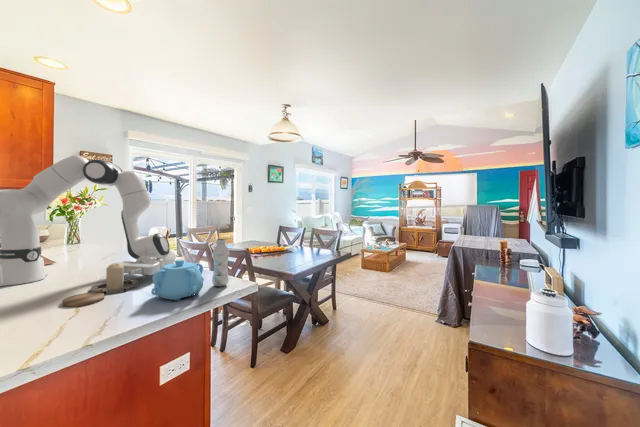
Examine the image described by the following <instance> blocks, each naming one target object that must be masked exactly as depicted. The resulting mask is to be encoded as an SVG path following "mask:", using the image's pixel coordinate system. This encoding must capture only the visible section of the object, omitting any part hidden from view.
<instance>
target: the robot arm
mask: <svg viewBox="0 0 640 427" xmlns="http://www.w3.org/2000/svg"><path fill="white" fill-rule="evenodd" d="M84 180H88V181H89V182H90V183H93V184H97V185H101V186H110V187H112V186H115V188H116V189H117V191H118V192H119V195H120V198H121V201H122V210H121V214H120V215H121V221H122V226H123V230H124V233H125V239H126V247H127V248H126V249H127V253H128V255H129V256H130V257H132V258H133V259H135V261H129V260H128V261H127V260H125V261H119V262H113V263H114V264H120V265H122V266H124V274H127V275H129V276H133V275H142V276H153V274H154V273H155V272H156V271H158V270H161V268H162V267H163V266H165V265H167V264H174V263H175V261H176V260H177V259H176V258H177V257H176V254H175V253H174V251H172V250H171V248H170V243H169V240H168V238H167V237H166V236H165V235H164V234H162V233H158V232H157V233H153V234H149V235H148V236H144V237H141V233H140V228H139V225H138V219H139V218H140V216H141V215H142V214H143V213H144V212H145V211H146V210H148V208H149V207H150V205H151V196H150V193H149V191H148V188H147V186H146V184H145V182H144V181H143V179H142V177H141V175H140V174H139V173H137V171H134V170H126V171H123V170H122V168H120V166H118V165H117V164H115V163H112V162H111V161H106V160H104V159H92V160H88V158H86V157H84V156H82V155H78V154H74V155H70V156H68V157H66V158H63V159H61V160H59V161H57V162H55V163H53V164H52V165H50V166H48V167H47V168H45V169H44V170H42V171H40V172H39V173H37V174H35V175H34V176H33V177H32V180H31V182H29V183H28V184H27V185H26V186H25V187H24V188H21V189H9V188H8V189H1V190H0V287H4V286H14V285H21V284H22V285H23V284H29V283H34V282H38V281H41V280H43V279H46V277H47V276H48V275H49V274H48V272H46V269H45V262H44V258H43V257H42V256H41V255H42V247H41V246H40V243H41V241H40V240H41V239H40V238H41V237H40V229H39V227H38V226H37V225H36V223H35V221H34V218H33V216H35V215H38V214H40V213H42V212H44V211H46V210H47V209H48V208H49V206H50V205H51V204H52V203H53V202H54V201H55V200H56V199H57V198H58V197H60V196H61V195H63V194H65V193H66V192H67V191H69V190H70V189H72V188H73V187H75V186H76V185H78V184H79V183H81V182H82V181H84Z"/></svg>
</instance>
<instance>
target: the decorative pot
mask: <svg viewBox="0 0 640 427" xmlns="http://www.w3.org/2000/svg"><path fill="white" fill-rule="evenodd" d="M203 270H204V267H203V264H201V263H199V262H195V263H193V262H188V261H187V262H186V261H185V260H184V259H175V262H174V263H173V264H167V265H165V266H163V267H162V268H161V270H158V271H156V272H155V273H154V274H153V275H152V282H153V285H154V287H153V288H152V289H151V292H150V293H151V295H152V296H158V297H160V298H162V299H165V300H171V301H172V300H178V301H180V300H181V299H183V298H188V297H192V296H191V295H194V294H196V295H197V294H198V293H199V292H200V291H201V290H202V288H203V286H204V277H203ZM194 296H195V295H194ZM179 299H180V300H179Z"/></svg>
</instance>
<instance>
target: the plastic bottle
mask: <svg viewBox="0 0 640 427" xmlns="http://www.w3.org/2000/svg"><path fill="white" fill-rule="evenodd" d="M215 242H216V243H215V244H216V246H215V247H214V249H213V251H212V257H213V273H212V279H211V282H212V285H213V286H214V287H225V286H227V285H228V283H229V279H230V278H229V269H228V266H229V265H228V264H229V263H228V260H229V256H230V249H229V248H228V246H227V245H226V244H227V241H226V239H225V238H217V239H216V240H215Z"/></svg>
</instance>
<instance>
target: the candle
mask: <svg viewBox="0 0 640 427" xmlns="http://www.w3.org/2000/svg"><path fill="white" fill-rule="evenodd" d="M114 263H115V262H113V263H111V264H109V265H108V266H107V267H106V268H105V270H106V282H107V286H106V290H111V289H118V288H124V287H125V286H124V285H125V284H124V280H125V275H124V274H125V273H124V266H122V265H120V264H114Z"/></svg>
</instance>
